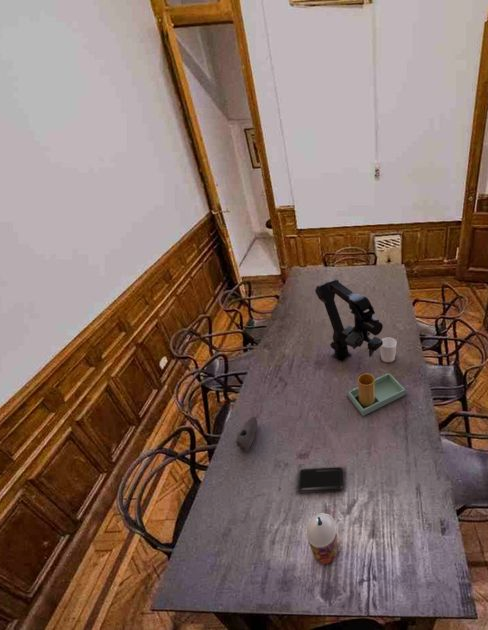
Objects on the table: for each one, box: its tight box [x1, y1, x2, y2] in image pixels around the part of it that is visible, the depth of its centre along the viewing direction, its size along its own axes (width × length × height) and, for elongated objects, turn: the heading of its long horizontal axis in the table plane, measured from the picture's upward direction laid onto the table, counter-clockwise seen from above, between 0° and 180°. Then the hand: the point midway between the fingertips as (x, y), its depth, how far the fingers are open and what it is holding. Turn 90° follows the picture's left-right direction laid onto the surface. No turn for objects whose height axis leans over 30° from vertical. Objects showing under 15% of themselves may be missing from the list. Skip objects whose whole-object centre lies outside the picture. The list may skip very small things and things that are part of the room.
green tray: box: [347, 372, 406, 417], centre depth 147 cm, size 21×12×4 cm, turn 120°
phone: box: [297, 466, 344, 494], centre depth 117 cm, size 8×1×15 cm
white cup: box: [379, 336, 397, 363], centre depth 165 cm, size 8×8×10 cm
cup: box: [357, 373, 376, 406], centre depth 142 cm, size 7×7×12 cm
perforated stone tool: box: [235, 416, 258, 453], centre depth 130 cm, size 15×5×7 cm, turn 172°
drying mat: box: [354, 396, 379, 409], centre depth 145 cm, size 8×8×1 cm
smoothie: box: [305, 513, 338, 565], centre depth 93 cm, size 8×8×20 cm
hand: (362, 352), depth 154 cm, fingers open, 9 cm apart
